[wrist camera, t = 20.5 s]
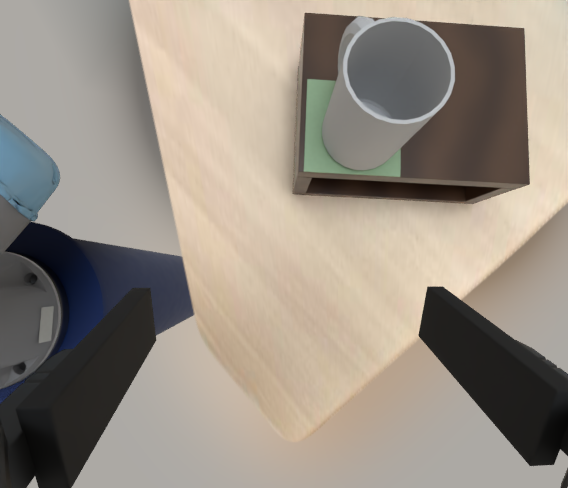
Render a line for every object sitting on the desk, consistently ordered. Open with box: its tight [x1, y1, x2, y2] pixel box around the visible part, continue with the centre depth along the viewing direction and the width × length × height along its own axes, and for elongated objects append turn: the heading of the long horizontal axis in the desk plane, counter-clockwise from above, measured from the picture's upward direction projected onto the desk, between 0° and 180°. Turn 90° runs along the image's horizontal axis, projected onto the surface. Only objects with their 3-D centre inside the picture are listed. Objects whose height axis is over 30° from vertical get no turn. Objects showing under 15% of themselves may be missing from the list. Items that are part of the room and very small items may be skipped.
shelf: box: [293, 13, 530, 204], centre depth 32 cm, size 22×16×8 cm
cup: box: [322, 16, 455, 170], centre depth 23 cm, size 7×10×9 cm
